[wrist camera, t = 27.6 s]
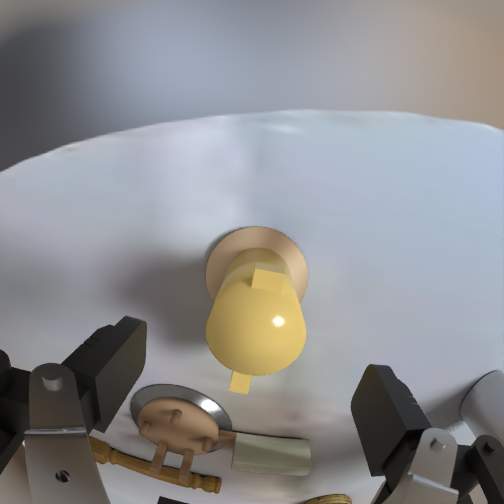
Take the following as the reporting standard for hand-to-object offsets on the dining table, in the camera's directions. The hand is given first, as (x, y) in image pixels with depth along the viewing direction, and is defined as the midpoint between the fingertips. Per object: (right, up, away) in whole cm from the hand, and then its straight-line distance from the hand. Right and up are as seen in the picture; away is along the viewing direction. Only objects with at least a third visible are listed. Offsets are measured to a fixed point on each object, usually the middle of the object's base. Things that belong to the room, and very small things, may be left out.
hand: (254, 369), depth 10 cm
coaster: (0, +2, +17) cm, 17 cm away
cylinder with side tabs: (0, 0, +16) cm, 16 cm away
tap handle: (-19, -27, +25) cm, 42 cm away
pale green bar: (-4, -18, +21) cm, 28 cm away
